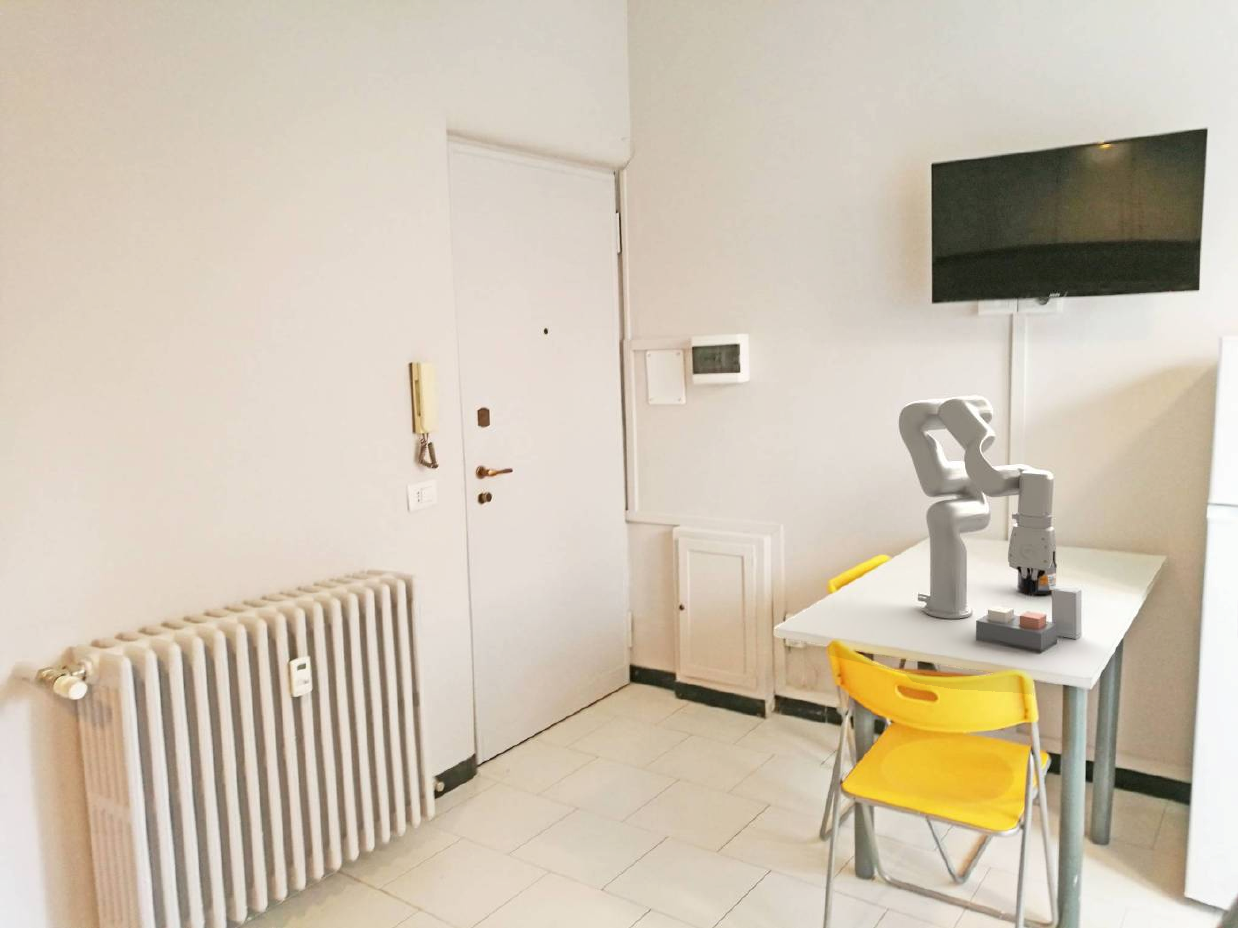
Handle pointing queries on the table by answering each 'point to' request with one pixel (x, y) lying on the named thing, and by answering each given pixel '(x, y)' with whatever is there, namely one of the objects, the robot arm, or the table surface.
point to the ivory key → (1001, 614)
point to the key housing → (1017, 634)
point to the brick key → (1033, 620)
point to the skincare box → (1067, 611)
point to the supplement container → (1040, 583)
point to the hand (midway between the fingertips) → (1030, 593)
